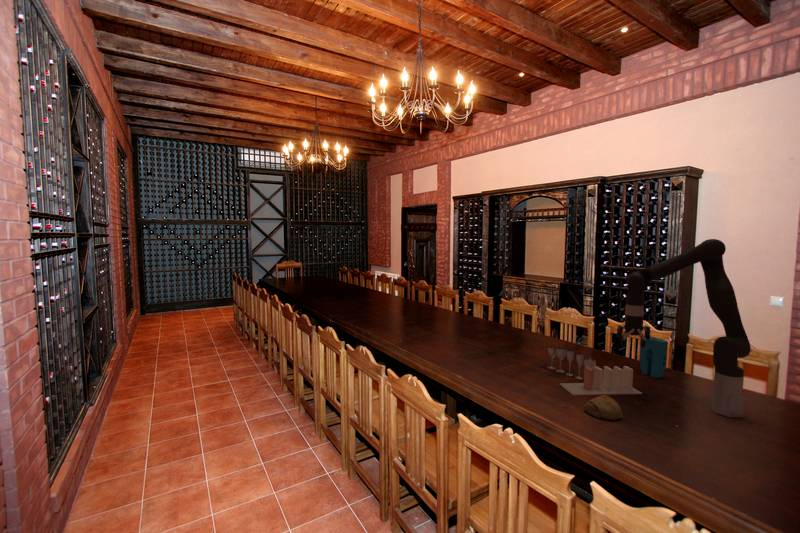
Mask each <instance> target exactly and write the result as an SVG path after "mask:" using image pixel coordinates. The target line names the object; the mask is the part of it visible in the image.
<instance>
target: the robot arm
mask: <svg viewBox="0 0 800 533" xmlns="http://www.w3.org/2000/svg"><path fill="white" fill-rule="evenodd" d="M726 249H727V248H726V244H725V243H724V242H723V241H722V240H720V239H716V238H709V239H705V240H704V241H702V242H701V243H699V244H698V245H696V246H695V247H693V248H691V249H689V250H686V251H684V252H682V253H680V254H678V255H675V256H673V257H670V258H668V259H664V260H662V261H660V262H659V261H658V262H657V263H655V264H652V265H650V266H648V267H646V268H642V269H639V270H636V271H632V272H631V273H629V274H628V275H627V277H626V283H627V294H626V300H625V301H626V302H625V303H626V304H625V308H624V309H625V310H624V325H619V324H618V325H617V330H616V338H619V339H620V346H621V347H622V348H624V349H625V348H627V347H626V346H627V340H626V339H627V338H629V337H630V336H638V337H639V338H640V340H639V346H640V348H644V347H645V341H646V339H650V337H651V327H650V326H648V325H644V314H645V313H644V311H645V310H644V295H645V294H644V293H645V288H646V284H647V283H649V282H652V281H657V280H660V279H663V278H666V277H668V276H672V274H675V273H677V272H679V271H682V270H684V269H686V268H687V267H690V266H692V265H695V264H699V263H700V265H701V268H702V272H703V276H704V285H705V289H706V296H707V301H708V304H709V308H710V309H711V310H712V312H713V314H715V315H716V317H717V318H718V320H719V321H720V322H721V324H722V326H723V329H724V333H725V336H720V337H719V336H718V338H716V340H715V341H714V343H713V350H712V363H713V366H714V375H713V376H714V377H713V387H712V398H711V399H712V400H711V411H713V412H714V413H716V414H719V415H721V416H724V417H727V418H743V412H744V403H745V395H744V394H743V386H744V378H745V377H744V375H745V374H744V373H745V371H744V369H743V368H742V367H740V366H738V359H743V358H746V357H747V356H749V355H750V352H751V350H752V349H751V348H752V347H751V343H750V340H749V338H748V335H747V333H746V330H745V328H744V325H743V321H742V317H741V315H740V309H739V306H738V302H737V296H736V293H735V290H734V286H733V285H732V282H731V281H730V279H729V277H728V275H727V273H726V270H725V267H724V259H723V257H724V254H725V253H726ZM643 325H644V326H643ZM643 332H644V333H643Z"/></svg>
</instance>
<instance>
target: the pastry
mask: <svg viewBox="0 0 800 533" xmlns="http://www.w3.org/2000/svg"><path fill="white" fill-rule="evenodd" d="M583 409H584V411H585V412H586V413H587V414H589V415H591V416H593V417H595V418H597V419H601V420H608V421H609V420H610V421H611V420H612V421H616V420H621V419H623V418H624V416H623V412H622V409H621V406H620V405H619V403H618V401H616V399H615V398H612V397H611V395H605V394H603V395H596V397H594V398H592V399H589V400H588V401H587V402H586V403H585V404H584V406H583Z"/></svg>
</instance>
